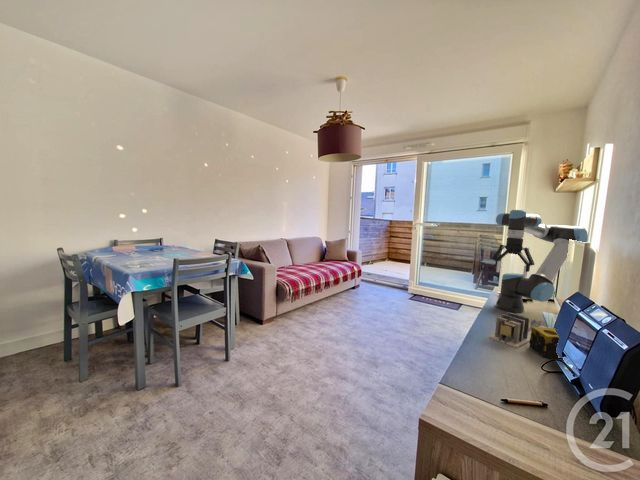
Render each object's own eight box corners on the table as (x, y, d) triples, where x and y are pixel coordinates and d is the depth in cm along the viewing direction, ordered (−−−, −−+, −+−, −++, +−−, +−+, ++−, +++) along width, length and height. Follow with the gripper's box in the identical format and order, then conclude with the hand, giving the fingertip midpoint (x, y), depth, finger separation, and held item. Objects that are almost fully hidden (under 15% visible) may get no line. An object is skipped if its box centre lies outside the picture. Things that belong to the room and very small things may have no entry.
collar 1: (499, 334, 139) (502, 313, 137) (521, 342, 131) (524, 320, 129) (498, 335, 138) (501, 314, 137) (520, 343, 130) (523, 321, 129)
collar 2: (505, 332, 142) (507, 311, 141) (527, 340, 134) (529, 318, 133) (504, 332, 141) (507, 312, 140) (526, 340, 133) (528, 318, 132)
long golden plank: (520, 324, 145) (521, 316, 144) (530, 327, 141) (531, 319, 140) (499, 333, 133) (500, 324, 132) (510, 337, 129) (511, 328, 128)
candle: (551, 348, 126) (554, 327, 125) (569, 360, 116) (572, 337, 115) (528, 346, 127) (530, 326, 126) (543, 358, 117) (546, 335, 116)
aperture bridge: (497, 336, 137) (499, 316, 135) (518, 344, 129) (520, 323, 128) (494, 337, 135) (496, 317, 134) (515, 345, 128) (518, 324, 127)
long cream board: (524, 321, 157) (525, 316, 157) (550, 329, 147) (551, 324, 147) (489, 337, 135) (490, 331, 135) (517, 348, 125) (517, 341, 125)
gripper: (488, 235, 162) (484, 270, 165) (539, 240, 142) (534, 280, 144) (494, 235, 166) (490, 269, 169) (544, 239, 146) (540, 278, 148)
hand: (510, 274), depth 156 cm, fingers open, 13 cm apart
